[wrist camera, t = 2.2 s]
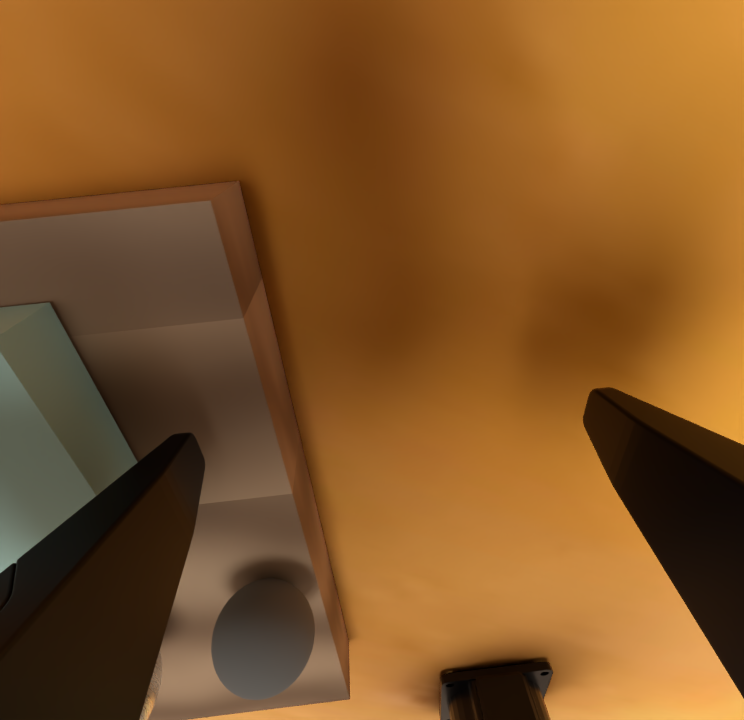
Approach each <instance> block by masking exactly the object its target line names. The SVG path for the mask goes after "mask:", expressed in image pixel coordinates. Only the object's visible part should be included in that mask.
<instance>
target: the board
mask: <svg viewBox="0 0 744 720" xmlns="http://www.w3.org/2000/svg"><path fill="white" fill-rule="evenodd" d="M48 302H50V304H51V306H52V308H53V310H54V311H55V313H56V315H57V317H58V319H59V320H60V322H61V324H62V326H63V328H64V330H65V331H66V333H67V335H68V337H69V339H70V340H71V342H72V344H73V346H74V348H75V350H76V351H77V353H78V355H79V357H80V359H81V360H82V362H83V364H84V366H85V368H86V370H87V371H88V373H89V375H90V377H91V379H92V380H93V382H94V384H95V386H96V388H97V390H98V391H99V393H100V395H101V397H102V399H103V400H104V402H105V404H106V406H107V408H108V410H109V411H110V413H111V415H112V417H113V419H114V420H115V422H116V424H117V426H118V428H119V430H120V431H121V433H122V435H123V437H124V439H125V440H126V442H127V444H128V446H129V448H130V449H131V451H132V453H133V455H134V457H135V459H136V460H137V462H139V461H140V460H141V459H142V458H144V457H145V456H146V455H147V454H149V453H150V452H151V451H152V450H154V449H155V448H156V447H157V446H159V445H160V444H161V443H162V442H163V441H165V440H166V439H167V438H168V437H170V436H171V435H173V434H177V433H186V432H190V433H193V434H194V435H195V437H196V439H197V442H198V444H199V446H200V449H201V451H202V454H203V456H204V459H205V472H204V478H203V484H202V490H201V496H200V501H199V507H198V513H197V519H196V524H195V529H194V534H193V537H192V541H191V545H190V548H189V552H188V555H187V559H186V562H185V565H184V569H183V572H182V576H181V579H180V583H179V586H178V589H177V593H176V596H175V600H174V603H173V607H172V610H171V613H170V617H169V620H168V624H167V627H166V631H165V634H164V637H163V641H162V644H161V648H160V652H161V658H162V678H161V685H160V689H159V693H158V696H157V699H156V702H155V705H154V707H153V710H152V712H151V714H150V716H149V718H148V720H187V719H195V718H203V717H211V716H219V715H227V714H235V713H243V712H251V711H259V710H267V709H275V708H283V707H291V706H299V705H308V704H316V703H324V702H332V701H340V700H348V699H350V677H349V640H348V636H347V632H346V628H345V624H344V619H343V615H342V611H341V607H340V603H339V598H338V594H337V590H336V586H335V582H334V577H333V573H332V569H331V565H330V561H329V556H328V552H327V548H326V544H325V540H324V535H323V531H322V527H321V523H320V519H319V514H318V510H317V506H316V502H315V498H314V493H313V489H312V485H311V481H310V477H309V472H308V468H307V464H306V460H305V456H304V451H303V447H302V443H301V439H300V435H299V430H298V426H297V422H296V418H295V414H294V409H293V405H292V401H291V397H290V393H289V388H288V384H287V380H286V376H285V372H284V367H283V363H282V359H281V355H280V351H279V346H278V342H277V338H276V334H275V330H274V325H273V321H272V317H271V313H270V309H269V304H268V300H267V296H266V292H265V288H264V283H263V279H262V275H261V271H260V267H259V262H258V258H257V254H256V250H255V246H254V241H253V237H252V233H251V229H250V225H249V220H248V216H247V212H246V208H245V204H244V199H243V195H242V191H241V187H240V183H239V181H232V182H222V183H213V184H203V185H193V186H183V187H173V188H163V189H153V190H143V191H133V192H123V193H113V194H103V195H93V196H83V197H73V198H63V199H53V200H43V201H33V202H23V203H13V204H3V205H0V307H10V306H19V305H29V304H39V303H48ZM266 578H275V579H281V580H284V581H287V582H289V583H291V584H293V585H294V586H295V587H297V588H298V589H299V590H300V591H301V592H302V593H303V594H304V596H305V597H306V599H307V600H308V602H309V605H310V607H311V609H312V612H313V616H314V623H315V637H314V644H313V649H312V652H311V655H310V658H309V660H308V662H307V665H306V667H305V668H304V670H303V671H302V673H301V674H300V676H299V677H298V678H297V679H296V681H295V682H294V683H293V684H292V685H290V686H289V687H288V688H287V689H286V690H284V691H283V692H281V693H280V694H278V695H275V696H273V697H271V698H267V699H262V700H248V699H244V698H241V697H239V696H237V695H235V694H233V693H232V692H230V691H229V690H228V689H227V688H226V687H225V686H224V685H223V684H222V682H221V681H220V679H219V678H218V676H217V674H216V671H215V669H214V665H213V661H212V654H211V643H212V635H213V630H214V627H215V624H216V621H217V619H218V616H219V614H220V612H221V611H222V609H223V607H224V606H225V604H226V603H227V602H228V600H229V599H230V598H231V597H232V596H233V595H234V594H235V593H236V592H237V591H239V590H240V589H241V588H242V587H244V586H246V585H248V584H249V583H251V582H254V581H257V580H261V579H266Z"/></svg>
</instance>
